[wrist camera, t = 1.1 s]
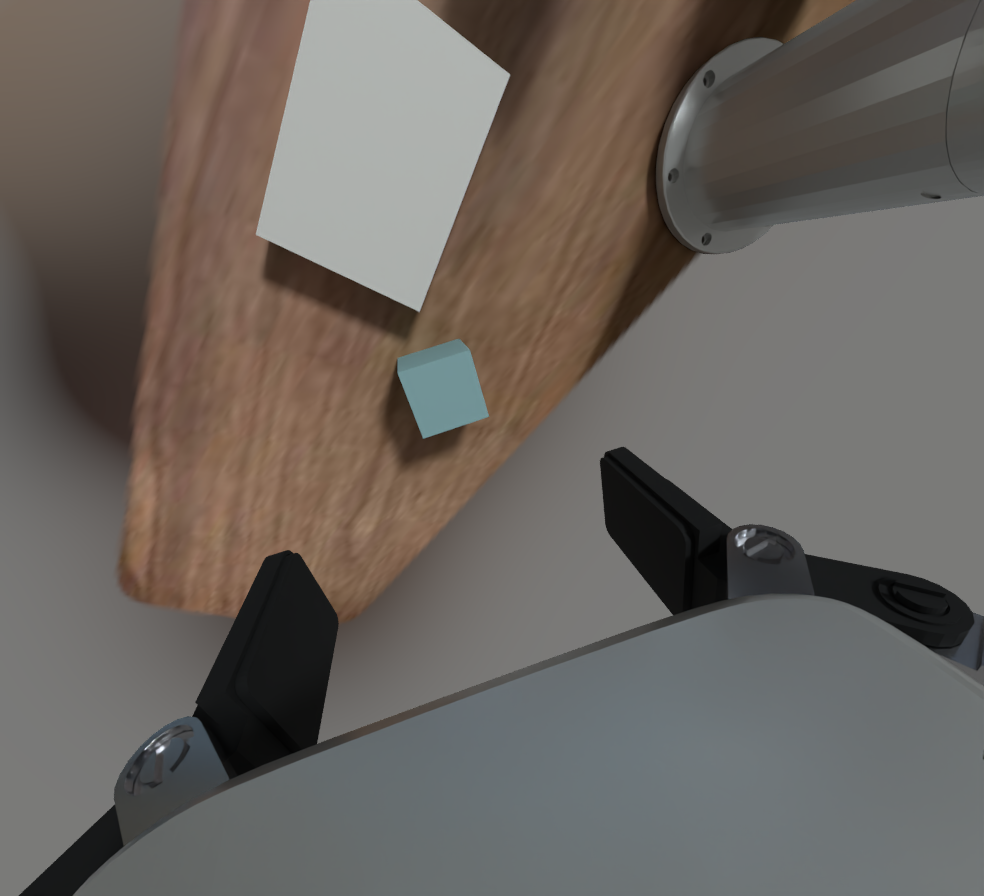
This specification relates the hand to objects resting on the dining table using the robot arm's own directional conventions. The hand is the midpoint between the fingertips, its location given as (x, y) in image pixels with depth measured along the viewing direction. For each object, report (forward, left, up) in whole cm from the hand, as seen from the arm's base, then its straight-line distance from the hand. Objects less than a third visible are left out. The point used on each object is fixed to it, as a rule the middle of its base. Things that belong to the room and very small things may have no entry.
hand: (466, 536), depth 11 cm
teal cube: (-1, +1, -21) cm, 21 cm away
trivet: (-2, -13, -21) cm, 25 cm away
